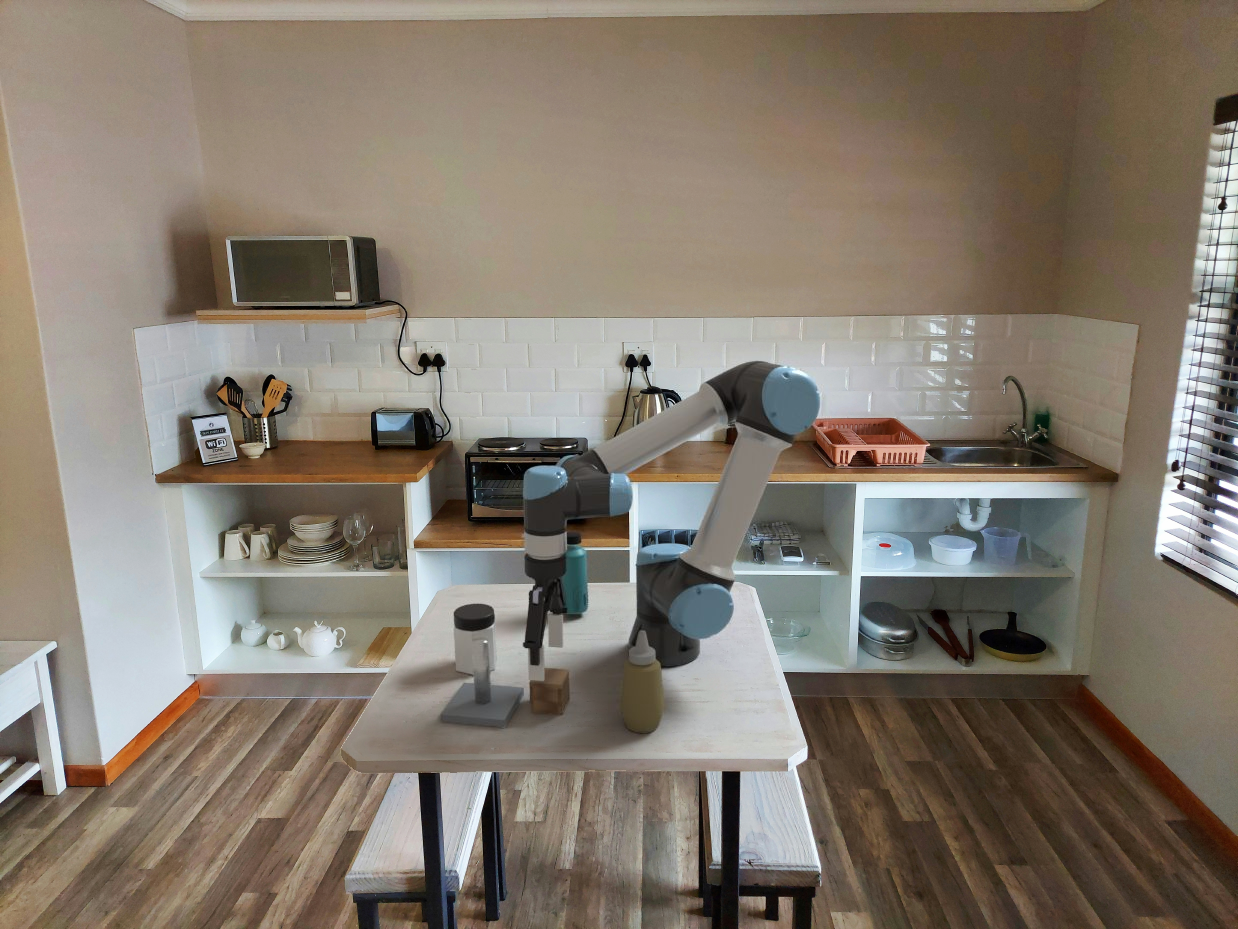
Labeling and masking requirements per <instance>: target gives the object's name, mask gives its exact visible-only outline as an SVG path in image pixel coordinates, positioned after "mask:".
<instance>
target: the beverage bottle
mask: <svg viewBox="0 0 1238 929" xmlns="http://www.w3.org/2000/svg"><path fill="white" fill-rule="evenodd" d="M566 532H567V551H566V552H565V554H566V555H567V571H566V574H565V575H564V576H562V581H563V587H564V593H565V599H566V605H565V608H567V609H568V610H567V614H568V615H579V614H584V613H585V612H587V611H588V608H589V604H590V603H589V588H588V586H589V583H588V582H589V579H588V566H587V550H586V549H585V548H584V547H582V546H581V545H579V544H581V543H582V535H581V534H582V533H580V532H579V531H566ZM563 607H564V606H563Z"/></svg>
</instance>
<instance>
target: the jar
mask: <svg viewBox="0 0 1238 929" xmlns="http://www.w3.org/2000/svg"><path fill="white" fill-rule="evenodd" d="M495 616H496V614H495V609H494V608H493V607H492V605H490V604H486V603H468V604H464V605H461V606H458V607H457V608H456V609H455V610H454V611H453V625H454V626H453V639H454V659H455V660H454V661H455V671H456V672H460V673H464V674H467V675H471V676H474V673H473V654H472V640H473V639H475V638H478V637H485V638H487V639H488V641H489V661H490V672H491V671H495V669H496V665H497V659H498V658H497V640H496V639H497V636H496V617H495Z"/></svg>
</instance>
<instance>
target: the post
mask: <svg viewBox="0 0 1238 929" xmlns="http://www.w3.org/2000/svg"><path fill="white" fill-rule="evenodd" d="M472 654H473V673H474V675H473V683H474V692H475V703H477V704H480V705H484V704H488V703H490V702H491V685H492V683H491V671H490V661H489V641H488V639H487V638H485V637H478V638H475V639H473V640H472Z"/></svg>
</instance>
